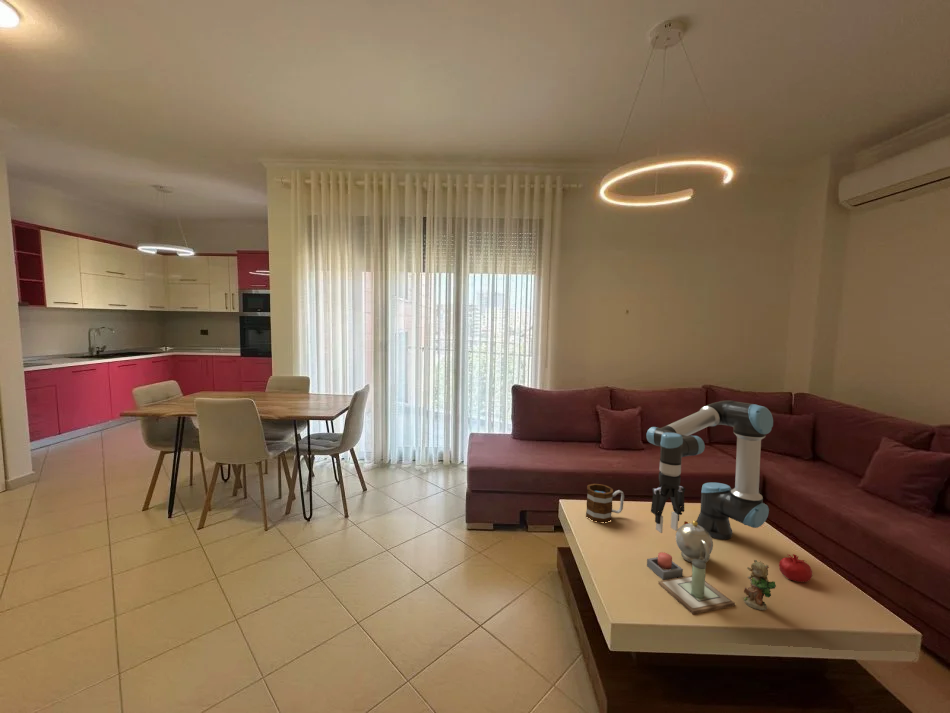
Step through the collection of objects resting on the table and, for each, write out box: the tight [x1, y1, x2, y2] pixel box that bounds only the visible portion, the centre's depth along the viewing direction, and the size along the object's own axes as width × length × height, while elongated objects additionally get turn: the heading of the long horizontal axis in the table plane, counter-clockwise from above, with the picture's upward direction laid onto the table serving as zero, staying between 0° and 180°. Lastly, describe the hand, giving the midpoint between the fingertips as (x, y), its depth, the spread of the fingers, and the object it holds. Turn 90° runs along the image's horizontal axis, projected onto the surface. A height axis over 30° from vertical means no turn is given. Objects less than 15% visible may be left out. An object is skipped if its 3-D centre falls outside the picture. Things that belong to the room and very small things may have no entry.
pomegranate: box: [778, 553, 813, 583], centre depth 149 cm, size 10×10×9 cm
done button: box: [657, 551, 673, 570], centre depth 151 cm, size 5×5×4 cm
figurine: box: [743, 559, 776, 611], centre depth 132 cm, size 9×8×15 cm
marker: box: [691, 559, 707, 599], centre depth 135 cm, size 4×4×12 cm
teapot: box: [675, 520, 714, 564], centre depth 158 cm, size 18×14×16 cm
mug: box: [585, 483, 625, 524], centre depth 195 cm, size 20×14×15 cm
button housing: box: [646, 556, 684, 581], centre depth 151 cm, size 9×9×3 cm
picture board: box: [657, 575, 736, 615], centre depth 138 cm, size 18×16×1 cm
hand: (666, 529), depth 150 cm, fingers open, 6 cm apart
